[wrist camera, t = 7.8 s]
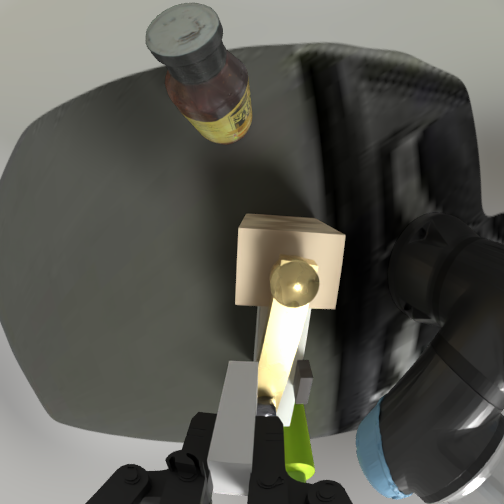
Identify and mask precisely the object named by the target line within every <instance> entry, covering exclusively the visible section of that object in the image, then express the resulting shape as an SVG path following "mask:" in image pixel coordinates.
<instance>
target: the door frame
mask: <svg viewBox="0 0 504 504" xmlns="http://www.w3.org/2000/svg"><path fill="white" fill-rule="evenodd" d="M345 236H346V235H344V234H343V233H341V232H339V231H337V230H335V229H334V228H332V227H330V226H328V225H326V224H325V223H323V222H321V221H319V220H317V219H315V218H306V217H292V216H278V215H263V214H246V215H245V217H244V218H243V220H242V222H241V224H240V226H239V229H238V250H237V272H236V296H235V305H248V306H257V320H256V334H255V348H254V361H253V362H257V359H258V354H259V350H260V346H261V341H262V337H263V332H264V327H265V323H266V318H267V314H268V309H269V304H270V299H271V295H272V293H271V288H270V272H271V269H272V267H273V265H274V264H275V263H276V262H277V261H278V260H279V255H280V254H283V255H297V256H301V257H303V258H306V259H312V260H314V261H315V262H316V264H317V265H318V269H317V274H318V277H319V290H318V293H317V295H316V296H315V298H314V299H313V300H312V301H311V302H310V303H309V306H308V310H307V313H306V317H305V321H304V325H303V328H302V332H301V335H300V339H299V342H298V346H297V349H296V353H295V356H294V359H293V363H292V366H291V369H290V373H289V376H288V379H287V382H286V385H285V388H284V391H283V395H282V398H281V401H280V404H279V407H278V409H277V412H276V416H278V417H279V418H280V420H281V421H282V423H283V426H290V422H291V417H292V413H293V408H294V403H295V404H307V402H308V398H309V394H310V390H311V385H312V381H313V375H312V371H311V368H310V364H309V360H303V357H304V351H305V345H306V339H307V333H308V326H309V320H310V313H311V308H313V309H335V307H336V301H337V295H338V288H339V282H340V275H341V268H342V261H343V253H344V245H345Z"/></svg>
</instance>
